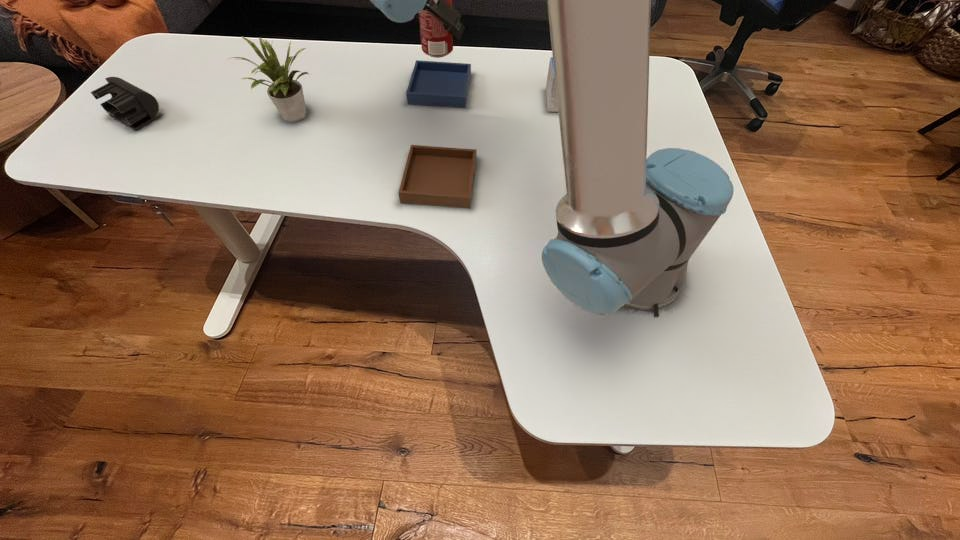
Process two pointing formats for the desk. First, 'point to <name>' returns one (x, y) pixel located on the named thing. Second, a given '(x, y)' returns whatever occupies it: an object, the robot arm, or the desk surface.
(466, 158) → the walnut tray
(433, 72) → the blue tray
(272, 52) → the house plant
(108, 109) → the end cap
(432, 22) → the soda can
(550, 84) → the medicine box
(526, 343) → the desk surface
